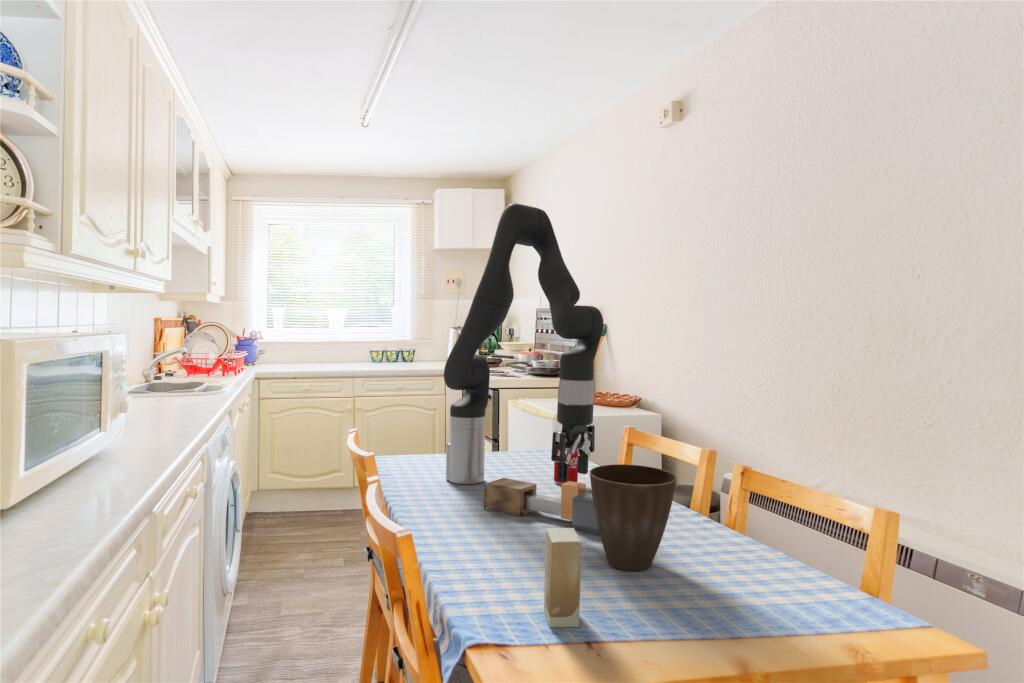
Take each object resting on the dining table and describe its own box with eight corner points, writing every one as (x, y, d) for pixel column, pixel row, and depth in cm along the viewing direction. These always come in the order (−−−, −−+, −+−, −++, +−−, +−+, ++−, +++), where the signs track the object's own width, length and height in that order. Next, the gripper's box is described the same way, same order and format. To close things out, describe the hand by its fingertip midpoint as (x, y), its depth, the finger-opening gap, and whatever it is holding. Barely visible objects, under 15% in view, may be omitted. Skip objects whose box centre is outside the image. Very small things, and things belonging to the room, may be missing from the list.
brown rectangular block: (483, 508, 150) (484, 482, 149) (500, 502, 155) (500, 477, 155) (520, 516, 144) (520, 489, 144) (535, 509, 149) (536, 483, 149)
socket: (571, 529, 136) (572, 497, 136) (590, 519, 143) (590, 489, 142) (607, 536, 132) (608, 504, 131) (624, 526, 138) (625, 495, 138)
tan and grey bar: (517, 508, 146) (517, 476, 146) (525, 505, 149) (526, 473, 149) (597, 525, 135) (598, 490, 135) (604, 521, 138) (605, 487, 138)
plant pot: (677, 555, 122) (680, 468, 121) (669, 586, 107) (672, 487, 107) (597, 545, 126) (599, 461, 126) (578, 572, 112) (581, 478, 112)
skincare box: (543, 609, 98) (544, 526, 98) (572, 608, 98) (574, 526, 98) (549, 629, 91) (551, 541, 91) (580, 628, 92) (582, 541, 91)
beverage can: (576, 486, 171) (577, 440, 171) (552, 485, 172) (553, 439, 172) (578, 481, 177) (579, 436, 177) (555, 479, 178) (556, 435, 178)
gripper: (576, 396, 147) (573, 468, 148) (542, 402, 136) (539, 480, 136) (606, 399, 143) (604, 474, 144) (574, 406, 132) (571, 487, 132)
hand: (572, 477), depth 140 cm, fingers open, 8 cm apart
